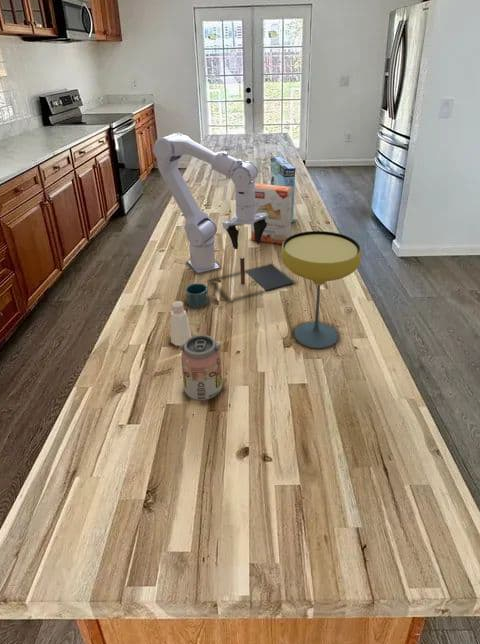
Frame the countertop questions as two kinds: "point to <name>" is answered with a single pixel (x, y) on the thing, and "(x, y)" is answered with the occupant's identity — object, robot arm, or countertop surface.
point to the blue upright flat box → (283, 176)
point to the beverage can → (201, 367)
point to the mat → (269, 277)
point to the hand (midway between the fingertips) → (246, 245)
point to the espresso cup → (197, 295)
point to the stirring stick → (242, 270)
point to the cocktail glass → (320, 273)
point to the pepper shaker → (179, 324)
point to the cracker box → (274, 211)
